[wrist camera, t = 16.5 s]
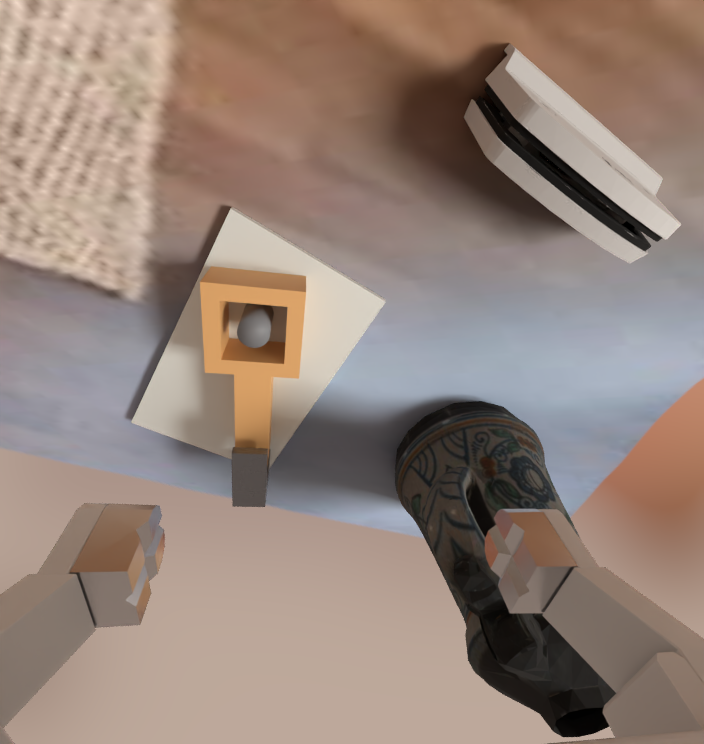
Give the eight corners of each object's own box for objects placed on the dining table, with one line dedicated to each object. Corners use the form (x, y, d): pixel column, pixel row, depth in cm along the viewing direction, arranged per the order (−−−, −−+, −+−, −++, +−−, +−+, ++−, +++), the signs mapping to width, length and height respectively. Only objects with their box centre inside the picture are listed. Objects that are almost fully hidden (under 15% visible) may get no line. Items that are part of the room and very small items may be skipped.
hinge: (656, 172, 32) (724, 234, 26) (603, 219, 36) (651, 285, 29) (505, 39, 27) (542, 74, 20) (458, 108, 30) (476, 159, 23)
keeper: (242, 406, 40) (231, 453, 34) (272, 407, 40) (267, 454, 35) (242, 455, 43) (232, 506, 37) (270, 456, 44) (265, 506, 38)
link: (211, 266, 32) (199, 281, 28) (306, 276, 33) (306, 292, 30) (218, 436, 41) (209, 464, 37) (292, 439, 42) (291, 466, 38)
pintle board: (134, 417, 39) (113, 451, 35) (232, 206, 31) (220, 218, 26) (267, 467, 44) (263, 502, 40) (384, 298, 36) (395, 320, 31)
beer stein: (483, 513, 52) (606, 773, 31) (346, 486, 47) (380, 775, 26) (557, 417, 45) (784, 671, 24) (404, 372, 40) (519, 645, 19)
